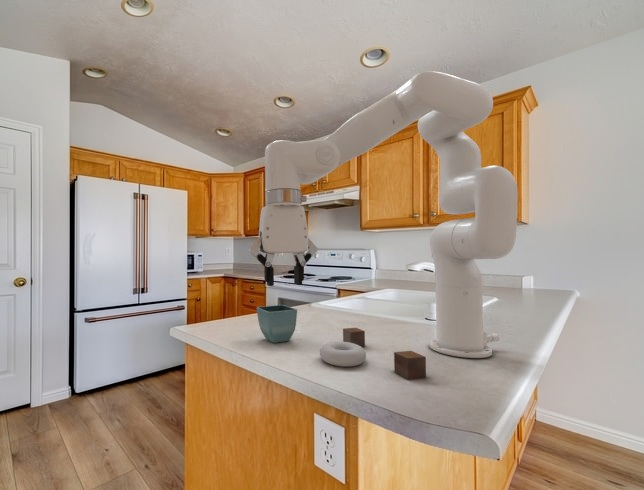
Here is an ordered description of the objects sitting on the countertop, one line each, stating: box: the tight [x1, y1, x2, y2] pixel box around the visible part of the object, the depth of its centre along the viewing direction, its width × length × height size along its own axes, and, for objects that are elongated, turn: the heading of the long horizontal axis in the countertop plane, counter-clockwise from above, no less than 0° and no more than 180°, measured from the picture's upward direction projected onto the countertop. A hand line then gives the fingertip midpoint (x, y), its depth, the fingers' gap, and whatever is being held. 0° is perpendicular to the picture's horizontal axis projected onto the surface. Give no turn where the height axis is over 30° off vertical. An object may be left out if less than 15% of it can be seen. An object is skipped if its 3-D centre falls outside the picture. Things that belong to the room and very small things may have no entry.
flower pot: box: [256, 304, 298, 344], centre depth 88 cm, size 9×9×9 cm
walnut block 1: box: [342, 327, 366, 348], centre depth 83 cm, size 4×4×4 cm
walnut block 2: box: [393, 350, 427, 380], centre depth 62 cm, size 4×4×4 cm
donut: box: [318, 341, 367, 368], centre depth 71 cm, size 10×4×10 cm
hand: (284, 284), depth 68 cm, fingers open, 5 cm apart
